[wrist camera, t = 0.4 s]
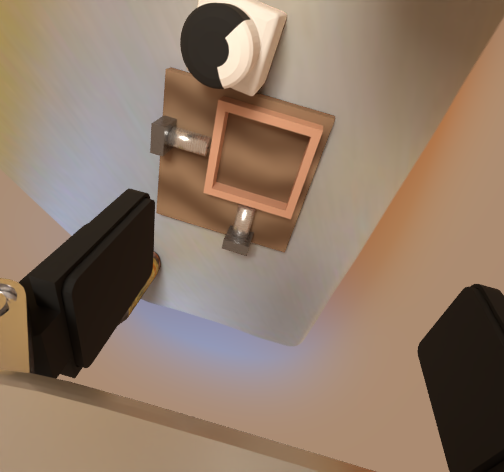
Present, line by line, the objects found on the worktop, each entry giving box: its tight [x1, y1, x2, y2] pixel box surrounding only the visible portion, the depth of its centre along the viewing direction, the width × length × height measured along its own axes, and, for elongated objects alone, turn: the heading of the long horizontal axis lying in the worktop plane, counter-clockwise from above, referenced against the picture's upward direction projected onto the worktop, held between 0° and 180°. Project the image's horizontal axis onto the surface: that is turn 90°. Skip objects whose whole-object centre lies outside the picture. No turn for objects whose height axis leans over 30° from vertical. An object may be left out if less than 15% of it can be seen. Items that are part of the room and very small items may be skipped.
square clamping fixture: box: [150, 68, 335, 256], centre depth 42 cm, size 20×20×5 cm
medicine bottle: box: [180, 0, 287, 96], centre depth 31 cm, size 7×7×12 cm
